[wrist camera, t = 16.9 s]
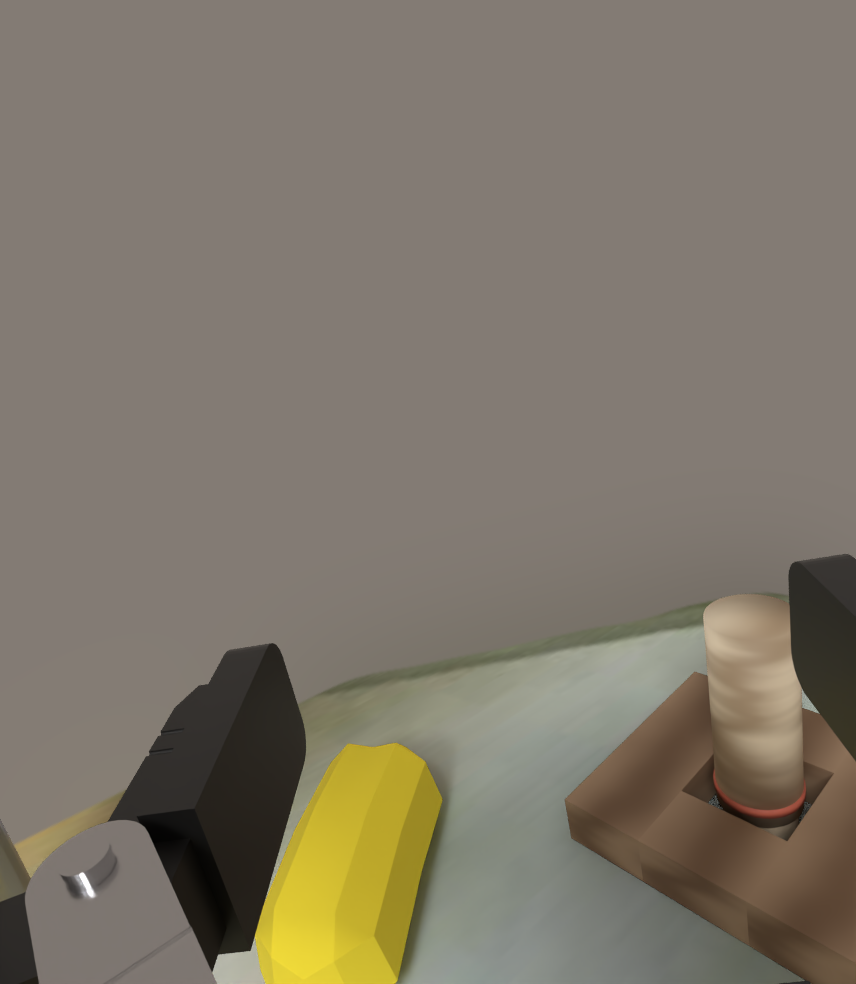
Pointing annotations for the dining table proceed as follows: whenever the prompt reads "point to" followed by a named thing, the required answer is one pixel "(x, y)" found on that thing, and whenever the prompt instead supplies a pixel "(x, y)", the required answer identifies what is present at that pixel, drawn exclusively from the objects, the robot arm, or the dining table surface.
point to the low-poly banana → (351, 872)
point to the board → (731, 838)
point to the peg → (755, 712)
